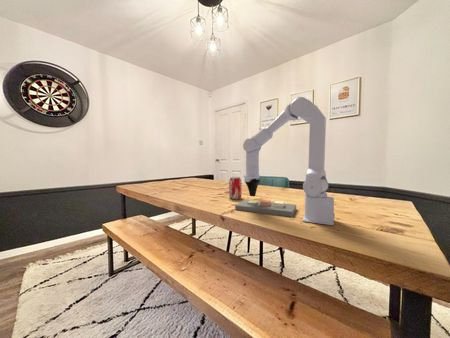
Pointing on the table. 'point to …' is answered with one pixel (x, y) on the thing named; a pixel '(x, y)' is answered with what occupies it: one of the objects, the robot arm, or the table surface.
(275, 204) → the cream key
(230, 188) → the soda can
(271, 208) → the key board
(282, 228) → the table surface
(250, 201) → the sage key
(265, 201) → the terracotta key
